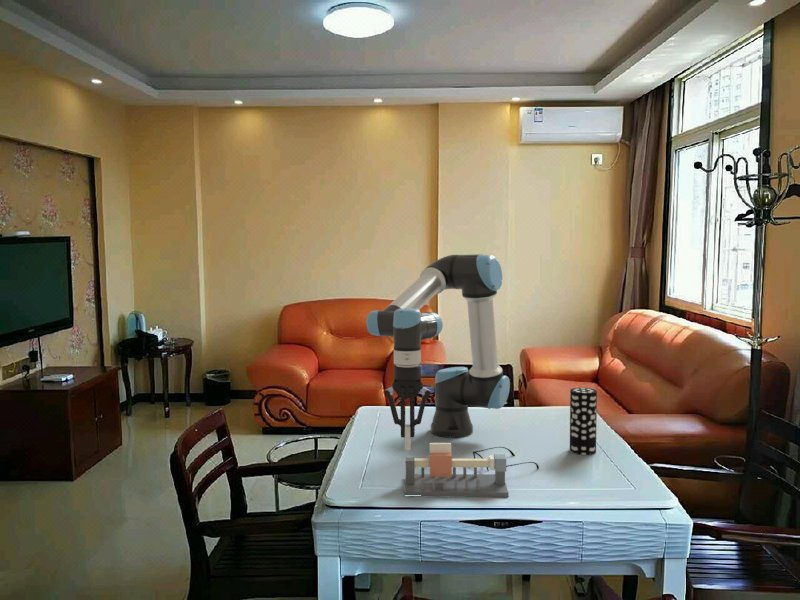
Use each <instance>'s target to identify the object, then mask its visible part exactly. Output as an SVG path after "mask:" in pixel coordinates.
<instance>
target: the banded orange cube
mask: <svg viewBox="0 0 800 600" xmlns="http://www.w3.org/2000/svg"><path fill="white" fill-rule="evenodd" d="M429 459H430V467H429V474H430V477H452V474H453V467H452V459H453V456H452V443H451V442H429Z"/></svg>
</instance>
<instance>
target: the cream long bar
mask: <svg viewBox="0 0 800 600" xmlns="http://www.w3.org/2000/svg"><path fill="white" fill-rule="evenodd" d="M506 466H507V457H506V454H504V453H503V454H501V453H500V454H499V453H497V454H496V453H495V454H493V455H489V456H488V458H483V459H482V458H475V459H474V458H452V468H453V467H456V468H463V467H466V468H474V467H477V468H487V467H488V469H489V471H494V473H495V472H505V473H506V472H507V467H506ZM414 467H415V468H421V467H424V468H430V458H419V457H418V458H415V457H414Z"/></svg>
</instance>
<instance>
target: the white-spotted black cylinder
mask: <svg viewBox="0 0 800 600" xmlns="http://www.w3.org/2000/svg"><path fill="white" fill-rule="evenodd" d="M569 391H570V394H569V396H570V397H569V399H570V400H569V451H570V452H571V453H573V454H576V455H580V454H581V455H582V456H587V455H588V456H590V455H594V454H596V453H597V411H598V410H597V409H598V408H597V403H598V401H597V400H598V390H597V389H594V388H589V387H574V388H570V390H569Z"/></svg>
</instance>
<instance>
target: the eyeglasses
mask: <svg viewBox="0 0 800 600" xmlns="http://www.w3.org/2000/svg"><path fill="white" fill-rule="evenodd" d="M497 448H499V449H500V448H502V449H505V450H507V451H508V452H509V453H510V455H511V457H516V455H515V453H514V452H513V451H512V450H511V449H510V448H508V447H504V446H496V447H491V448H490V447H489V448H486V449H485V448H484V449H480V450H475V451H472V455H473V459H476V455H477V456H478V457H480V459H484V457H483V456H481V454H479V452H485V451H488V450H491V449H492V450H493V449H497ZM522 464H534V465H535V467H536V469H537V470H539V469H540V466H539V464H538V463H537V462H534V461H527V462H521V463H514V464H509V465H506V468H509V467H512V466H519V465H522ZM486 470H487V472H490V469H489V467H486Z"/></svg>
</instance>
